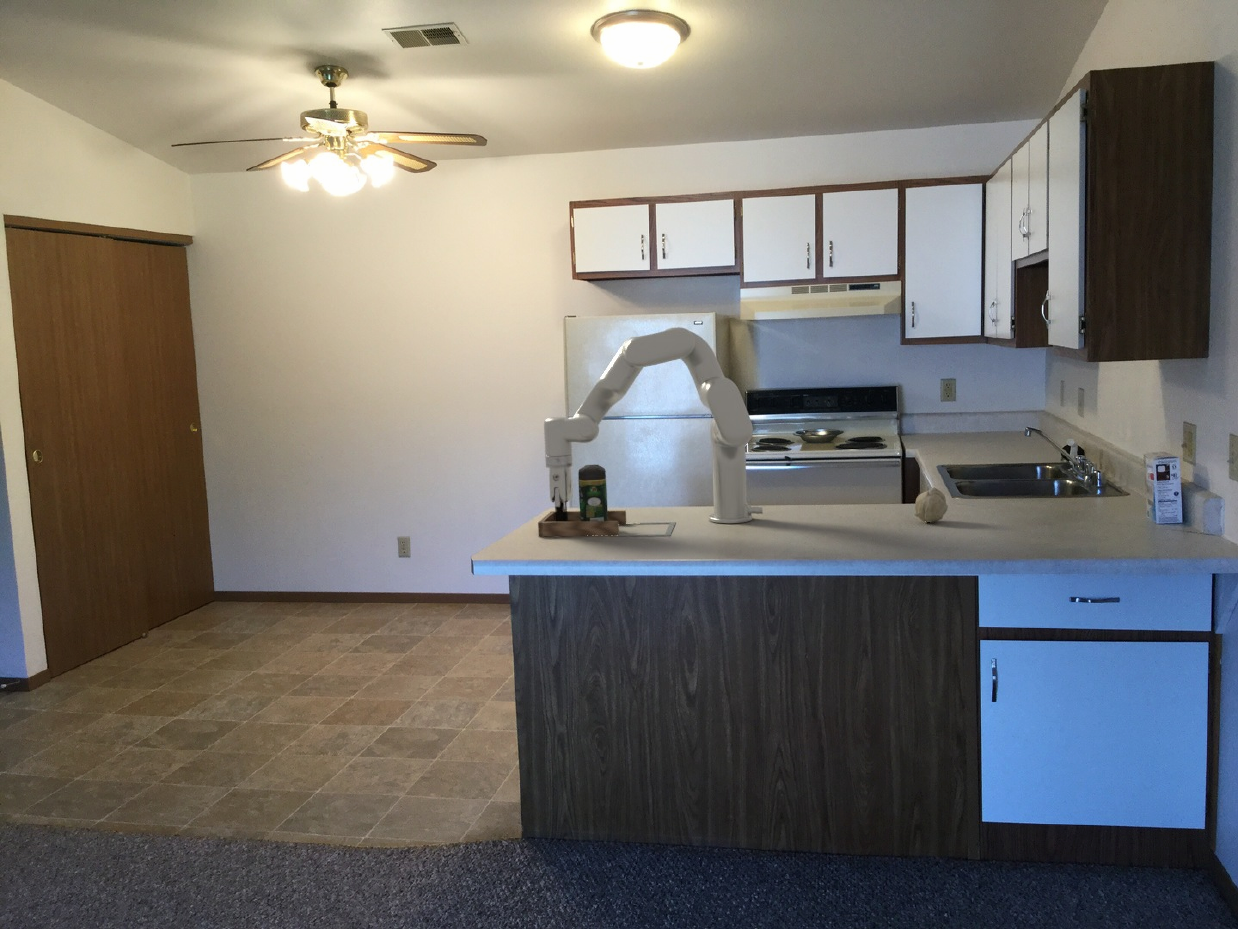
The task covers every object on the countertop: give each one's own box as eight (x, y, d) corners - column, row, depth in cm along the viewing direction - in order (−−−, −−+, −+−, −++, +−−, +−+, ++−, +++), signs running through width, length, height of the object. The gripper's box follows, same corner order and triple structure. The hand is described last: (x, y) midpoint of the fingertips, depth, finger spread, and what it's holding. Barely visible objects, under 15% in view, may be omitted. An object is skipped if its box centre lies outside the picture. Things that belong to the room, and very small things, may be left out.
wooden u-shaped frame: (626, 524, 282) (625, 510, 282) (618, 536, 265) (617, 521, 264) (551, 524, 285) (550, 511, 285) (538, 536, 268) (538, 522, 268)
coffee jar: (580, 527, 279) (577, 463, 277) (608, 526, 280) (605, 462, 277) (580, 534, 270) (577, 468, 267) (608, 533, 270) (606, 466, 268)
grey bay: (675, 522, 281) (675, 522, 281) (670, 536, 262) (670, 535, 262) (626, 523, 283) (626, 522, 283) (617, 536, 264) (617, 535, 264)
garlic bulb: (945, 519, 270) (945, 484, 269) (952, 525, 262) (952, 489, 261) (910, 520, 271) (910, 485, 270) (916, 526, 263) (916, 489, 262)
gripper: (567, 464, 266) (570, 530, 268) (576, 457, 280) (579, 520, 283) (540, 465, 267) (543, 530, 269) (551, 458, 281) (554, 520, 284)
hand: (561, 525), depth 276 cm, fingers closed
